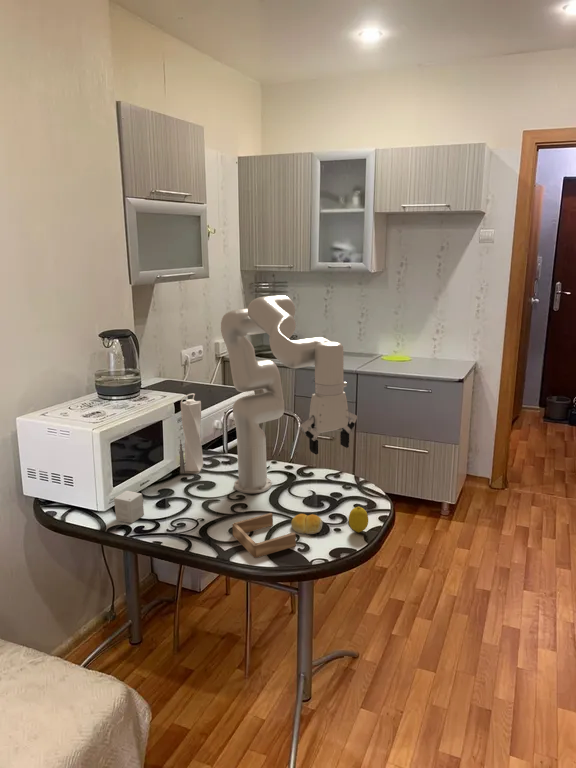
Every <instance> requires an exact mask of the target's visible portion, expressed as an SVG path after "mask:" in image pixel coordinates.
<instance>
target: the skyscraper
mask: <svg viewBox="0 0 576 768" xmlns="http://www.w3.org/2000/svg"><path fill="white" fill-rule="evenodd" d="M195 395H196V393H188V394H186V395H185V396H183V397H182V399H181V400H180V413H181V414H180V416H181V423H182V429H183V434H184V450H183V444H182V440H181V439H180V440H179V443H180V444H179V452H178V453H179V466H180V467H179V470H180V471H179V474H189V475H190V474H192V475H193V474H195V475H196V474H198V475H199V474H200V472H201V471H202V469H203V467H204V457H203V447H202V440H201V437H200V432H201V426H202V425H201V424H202V402H201V401H202V400H195ZM189 396H192V398H190V399H189V398H188V399H186V400H185V401H183V400H184V399H185V398H186V397H189Z"/></svg>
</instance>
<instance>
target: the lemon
mask: <svg viewBox="0 0 576 768" xmlns="http://www.w3.org/2000/svg"><path fill="white" fill-rule="evenodd" d="M348 524H349V527H350V528H351V529H352V530H353V531H355V532H356V533H358V534H359V533H360V532H363V531H365V530H366V529H367V528H368V524H369V515H368V513H367V510H366V509H364V508H363V507H361V506H355V507H353V509H351V510H350V513H349V516H348Z"/></svg>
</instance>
